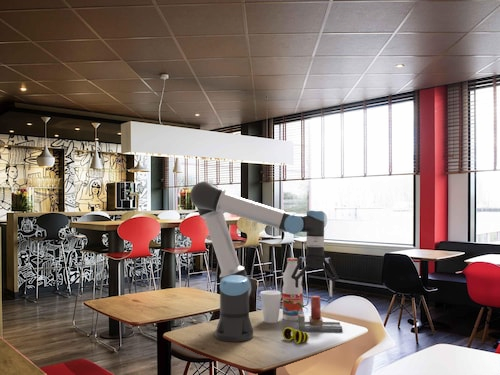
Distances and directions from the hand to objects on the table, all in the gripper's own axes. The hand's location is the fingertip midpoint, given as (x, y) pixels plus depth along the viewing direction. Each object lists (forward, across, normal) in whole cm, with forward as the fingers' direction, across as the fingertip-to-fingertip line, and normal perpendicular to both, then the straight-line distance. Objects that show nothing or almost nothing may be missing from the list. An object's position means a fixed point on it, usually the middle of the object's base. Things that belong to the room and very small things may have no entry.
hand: (314, 295), depth 183 cm
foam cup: (+14, -19, +11) cm, 26 cm away
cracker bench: (+14, +2, 0) cm, 14 cm away
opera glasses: (+14, -8, -18) cm, 24 cm away
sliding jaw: (+11, +1, 0) cm, 11 cm away
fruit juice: (+14, -9, +16) cm, 23 cm away
